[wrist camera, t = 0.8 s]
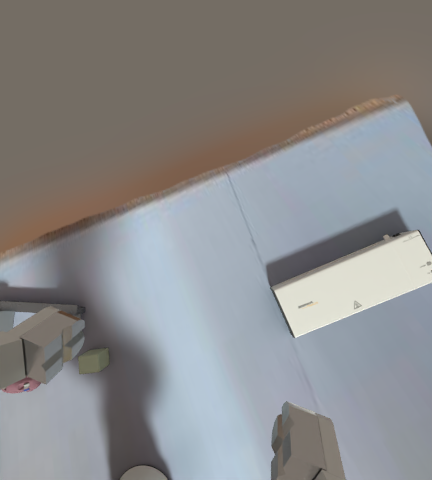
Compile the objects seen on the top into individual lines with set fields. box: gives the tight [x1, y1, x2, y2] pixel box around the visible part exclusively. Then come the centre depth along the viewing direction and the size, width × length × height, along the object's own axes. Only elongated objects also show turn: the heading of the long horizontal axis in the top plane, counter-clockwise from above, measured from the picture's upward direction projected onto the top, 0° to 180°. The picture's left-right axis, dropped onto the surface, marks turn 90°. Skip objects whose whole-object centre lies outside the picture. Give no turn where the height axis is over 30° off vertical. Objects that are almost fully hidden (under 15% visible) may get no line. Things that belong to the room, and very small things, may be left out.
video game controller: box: [2, 376, 41, 393], centre depth 58 cm, size 10×5×7 cm, turn 94°
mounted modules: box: [0, 311, 81, 332], centre depth 58 cm, size 7×24×7 cm, turn 88°
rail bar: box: [0, 301, 85, 315], centre depth 61 cm, size 2×26×3 cm, turn 88°
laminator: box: [270, 230, 432, 338], centre depth 54 cm, size 34×12×6 cm, turn 113°
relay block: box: [78, 348, 110, 374], centre depth 58 cm, size 4×5×4 cm
